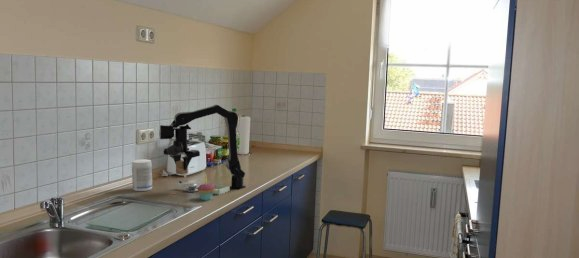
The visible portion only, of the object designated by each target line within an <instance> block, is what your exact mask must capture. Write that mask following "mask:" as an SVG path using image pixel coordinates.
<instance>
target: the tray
mask: <svg viewBox="0 0 579 258" xmlns="http://www.w3.org/2000/svg"><path fill="white" fill-rule="evenodd" d="M212 185H213V186H214V187H215V192H213V194H212V195H216V194H217V196H220V194H221V195H223V194H225V192H226V193H228V191H229V192H230V191H231V188H230V186H231V185H230V186H229V185H221V184H212Z"/></svg>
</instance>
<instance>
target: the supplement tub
mask: <svg viewBox="0 0 579 258" xmlns="http://www.w3.org/2000/svg"><path fill="white" fill-rule="evenodd" d="M152 166H153V165H152V160H151V159H145V158H144V159H143V158H142V159H133V160H132V161H131V178H132V179H131V180H132V190H133V191H134V192H147V191H151V190H152V189H153V167H152Z"/></svg>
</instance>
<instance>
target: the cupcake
mask: <svg viewBox="0 0 579 258" xmlns="http://www.w3.org/2000/svg"><path fill="white" fill-rule="evenodd" d="M204 179H205V180H204V182H205V183H203V184H201V185H200V184H199V186H198V187H197V188H198V189H197V191H198V192H197V193H198V194H199V196H200V199H201V200H202V201H209V200H212V198H213V197H212V196H213V195H214V194H213V192H215V187H214V186H213V185H214V184H210V183H207V181H208V179H207V173H206V172H205V175H204Z"/></svg>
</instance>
